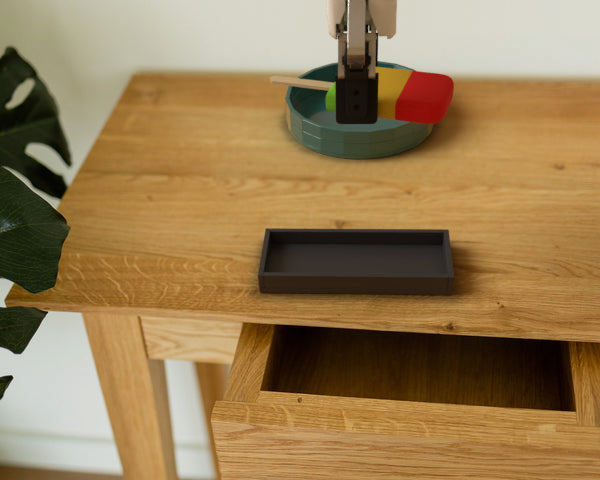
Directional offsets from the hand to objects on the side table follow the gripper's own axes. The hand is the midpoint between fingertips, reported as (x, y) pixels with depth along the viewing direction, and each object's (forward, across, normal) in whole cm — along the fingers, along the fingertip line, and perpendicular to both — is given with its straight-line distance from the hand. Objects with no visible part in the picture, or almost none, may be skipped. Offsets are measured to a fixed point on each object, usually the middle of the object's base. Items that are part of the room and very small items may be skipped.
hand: (357, 98), depth 62 cm
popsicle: (0, 0, 0) cm, 0 cm away
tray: (+16, -2, 0) cm, 17 cm away
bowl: (+16, +26, 0) cm, 31 cm away
